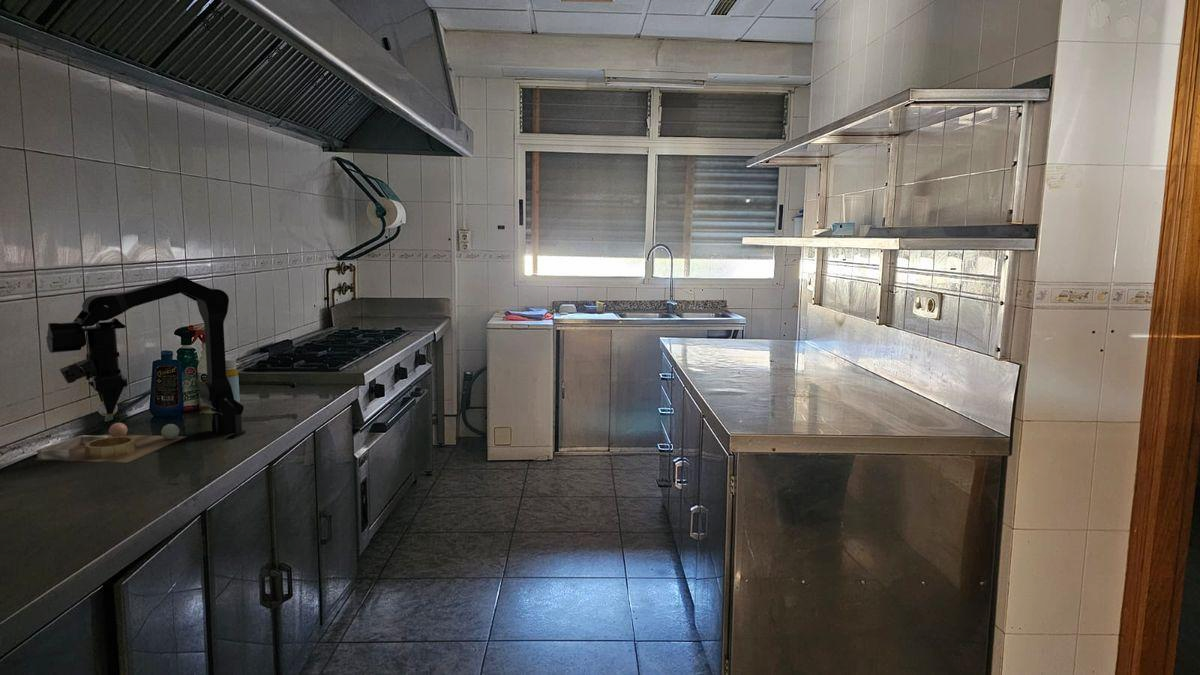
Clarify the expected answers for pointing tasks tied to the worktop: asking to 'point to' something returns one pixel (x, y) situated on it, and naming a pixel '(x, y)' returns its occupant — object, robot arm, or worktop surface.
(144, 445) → the board
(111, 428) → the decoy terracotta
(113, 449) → the race ring
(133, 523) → the worktop surface
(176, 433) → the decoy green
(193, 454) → the worktop surface
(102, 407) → the steel ball
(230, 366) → the bottle
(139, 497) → the worktop surface
